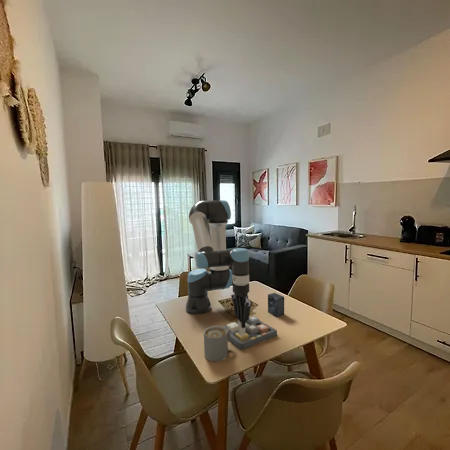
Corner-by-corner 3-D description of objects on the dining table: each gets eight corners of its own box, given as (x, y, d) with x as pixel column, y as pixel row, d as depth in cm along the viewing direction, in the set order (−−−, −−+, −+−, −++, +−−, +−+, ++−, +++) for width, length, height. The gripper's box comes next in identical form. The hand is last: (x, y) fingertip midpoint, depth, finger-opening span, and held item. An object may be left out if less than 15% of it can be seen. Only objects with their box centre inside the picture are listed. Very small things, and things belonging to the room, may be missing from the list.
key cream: (227, 328, 125) (226, 324, 125) (234, 325, 127) (234, 321, 127) (232, 332, 121) (232, 327, 121) (239, 329, 124) (239, 325, 123)
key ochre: (235, 337, 119) (235, 333, 119) (243, 334, 122) (242, 330, 121) (240, 341, 116) (240, 337, 115) (248, 338, 118) (248, 334, 118)
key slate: (246, 321, 131) (246, 317, 131) (253, 319, 134) (253, 315, 134) (252, 325, 128) (252, 320, 128) (259, 322, 130) (259, 318, 130)
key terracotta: (255, 330, 126) (255, 325, 125) (262, 327, 128) (262, 323, 128) (261, 334, 122) (261, 329, 122) (268, 331, 124) (268, 327, 124)
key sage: (237, 327, 128) (237, 323, 128) (244, 325, 131) (244, 321, 131) (242, 331, 125) (242, 327, 124) (249, 329, 127) (249, 324, 127)
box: (267, 312, 149) (267, 294, 148) (275, 309, 152) (274, 292, 151) (277, 317, 142) (276, 298, 141) (284, 314, 145) (284, 296, 144)
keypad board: (219, 332, 127) (219, 327, 127) (253, 321, 138) (253, 316, 138) (241, 350, 112) (241, 343, 111) (277, 335, 123) (276, 329, 123)
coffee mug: (213, 364, 103) (212, 340, 102) (200, 353, 111) (199, 330, 110) (239, 352, 111) (238, 329, 110) (225, 342, 119) (224, 321, 118)
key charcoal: (245, 330, 122) (245, 326, 122) (253, 328, 125) (252, 323, 124) (251, 334, 119) (251, 330, 118) (258, 331, 121) (258, 327, 121)
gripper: (226, 281, 120) (227, 330, 122) (242, 288, 109) (243, 342, 111) (239, 278, 124) (240, 325, 126) (256, 285, 113) (257, 337, 115)
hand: (241, 333), depth 118 cm, fingers closed
